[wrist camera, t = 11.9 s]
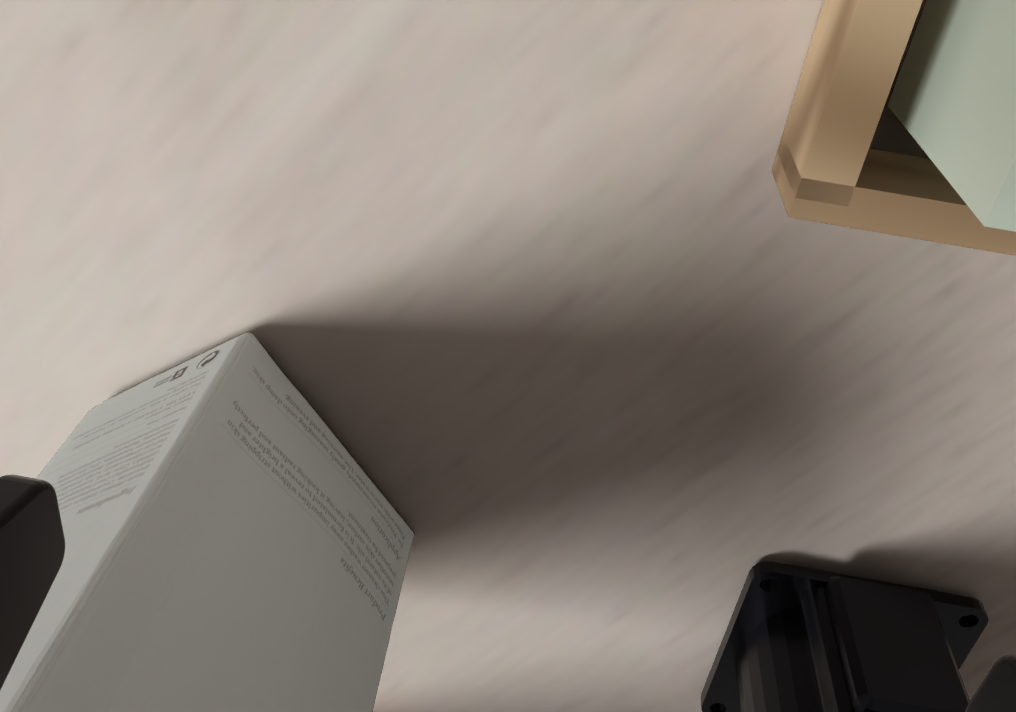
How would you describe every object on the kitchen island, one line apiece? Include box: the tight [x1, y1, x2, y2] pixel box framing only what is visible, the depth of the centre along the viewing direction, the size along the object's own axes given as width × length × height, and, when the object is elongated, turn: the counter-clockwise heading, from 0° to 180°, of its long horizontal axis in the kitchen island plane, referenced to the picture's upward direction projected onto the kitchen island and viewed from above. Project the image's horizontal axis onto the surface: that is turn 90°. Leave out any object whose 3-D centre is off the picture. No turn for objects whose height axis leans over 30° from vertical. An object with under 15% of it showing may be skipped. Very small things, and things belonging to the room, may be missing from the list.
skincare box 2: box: [0, 332, 414, 712], centre depth 19 cm, size 8×6×15 cm
